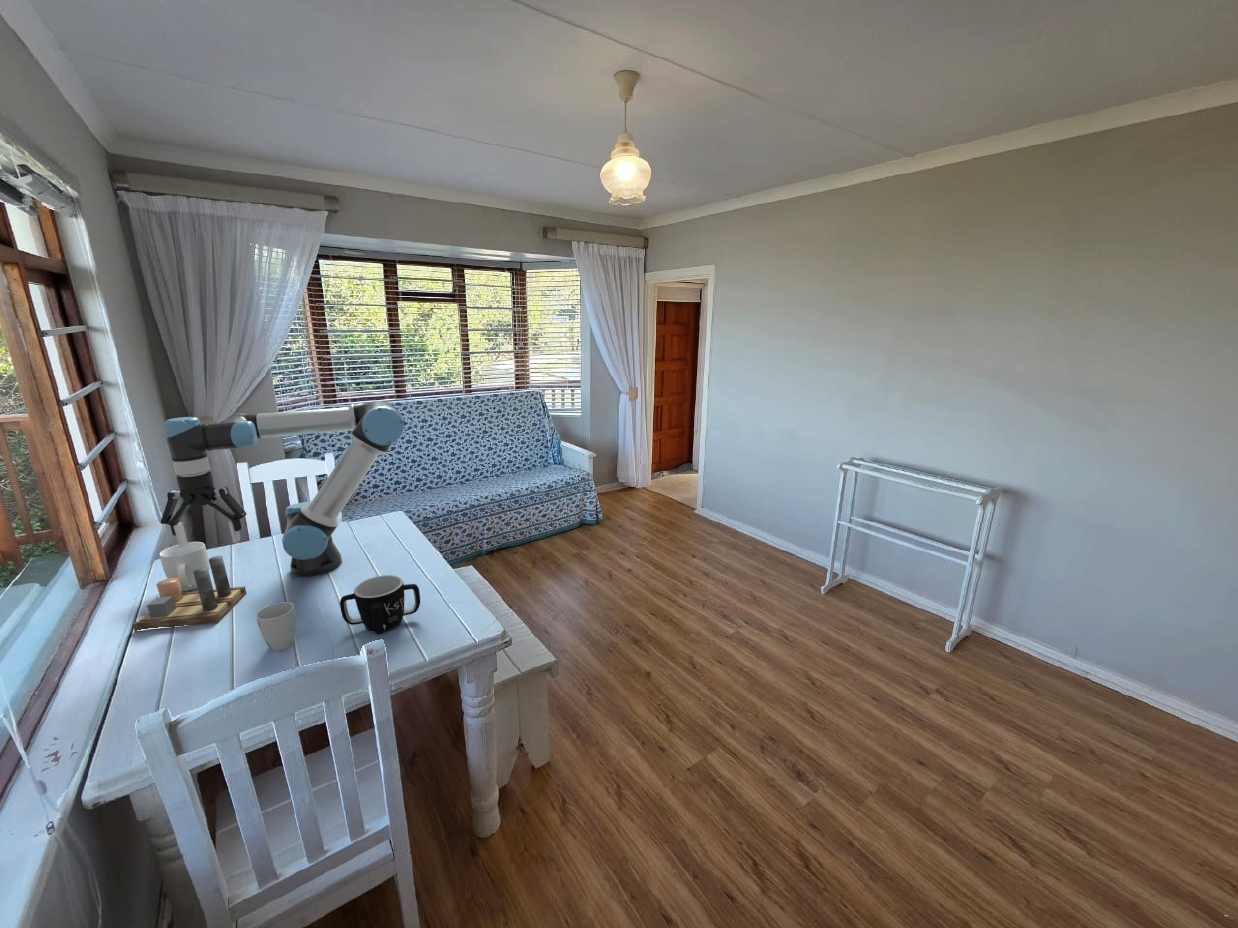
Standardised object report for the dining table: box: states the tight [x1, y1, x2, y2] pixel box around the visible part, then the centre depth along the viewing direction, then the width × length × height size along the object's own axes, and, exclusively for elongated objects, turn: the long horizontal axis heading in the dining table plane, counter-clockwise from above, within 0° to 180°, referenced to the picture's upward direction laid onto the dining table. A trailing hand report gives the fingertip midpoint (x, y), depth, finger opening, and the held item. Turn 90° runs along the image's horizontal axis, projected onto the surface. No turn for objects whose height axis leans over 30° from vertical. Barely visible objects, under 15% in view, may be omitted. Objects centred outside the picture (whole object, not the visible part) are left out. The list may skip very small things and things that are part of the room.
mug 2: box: [339, 574, 421, 635], centre depth 136 cm, size 16×16×12 cm
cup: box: [255, 601, 297, 652], centre depth 128 cm, size 8×8×10 cm
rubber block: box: [146, 596, 177, 618], centre depth 139 cm, size 4×4×4 cm
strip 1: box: [138, 567, 228, 622], centre depth 139 cm, size 19×5×13 cm, turn 102°
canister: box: [156, 578, 183, 602], centre depth 146 cm, size 5×5×6 cm
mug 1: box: [159, 541, 211, 592], centre depth 156 cm, size 15×11×13 cm
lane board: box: [131, 585, 248, 632], centre depth 145 cm, size 20×16×2 cm
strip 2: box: [175, 555, 241, 605], centre depth 146 cm, size 19×5×13 cm, turn 102°
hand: (210, 543), depth 144 cm, fingers open, 13 cm apart
